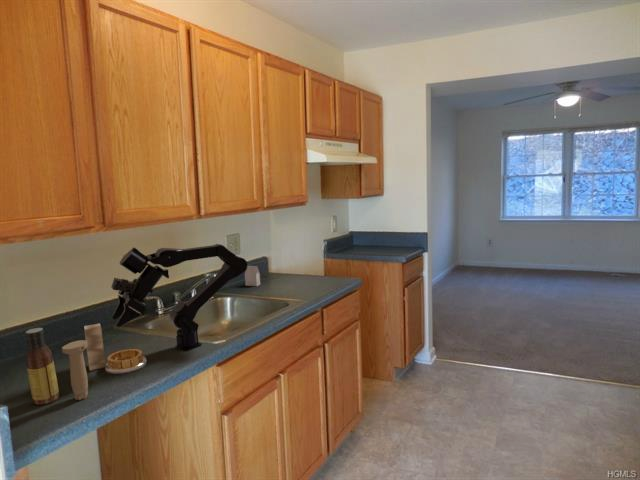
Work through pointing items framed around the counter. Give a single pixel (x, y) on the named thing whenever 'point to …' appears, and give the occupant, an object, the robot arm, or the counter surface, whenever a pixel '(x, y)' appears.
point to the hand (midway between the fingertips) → (115, 322)
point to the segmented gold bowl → (125, 361)
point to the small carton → (252, 276)
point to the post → (94, 346)
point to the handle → (77, 368)
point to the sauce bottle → (40, 368)
